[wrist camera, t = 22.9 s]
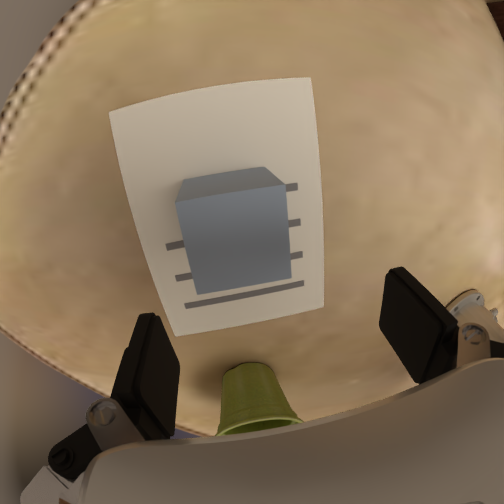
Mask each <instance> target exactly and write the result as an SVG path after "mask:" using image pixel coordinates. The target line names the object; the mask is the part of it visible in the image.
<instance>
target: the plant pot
mask: <svg viewBox="0 0 504 504" xmlns="http://www.w3.org/2000/svg"><path fill="white" fill-rule="evenodd" d="M303 422H304V421H302V420H301V419H299V418H298V416H297V415H296V413H295V412H294V411H292V409H291V407H290V405H289V403H288V401H287V399H286V397H285V395H284V393H283V391H282V389H281V387H280V385H279V383H278V381H277V379H276V377H275V374H274V372H273V371H272V370H271V369H270V368H269V367H268V366H266V365H264V364H261V363H244V364H240V365H239V366H238V367H236V368H234V369H232V370H228V371H227V372H226V373H225V375H224V376H223V379H222V397H221V417H220V424H219V426H218V432H217V434H216V435H215V436H223V435H232V434H240V433H248V432H255V431H261V430H267V429H273V428H278V427H283V426H289V425H293V424H298V423H303Z"/></svg>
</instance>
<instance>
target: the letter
mask: <svg viewBox="0 0 504 504" xmlns="http://www.w3.org/2000/svg"><path fill="white" fill-rule="evenodd" d="M109 117H110V122H111V128H112V133H113V138H114V143H115V148H116V152H117V157H118V161H119V166H120V170H121V174H122V178H123V182H124V186H125V190H126V194H127V198H128V201H129V205H130V209H131V212H132V216H133V219H134V223H135V226H136V229H137V233H138V236H139V239H140V242H141V245H142V249H143V252H144V255H145V258H146V261H147V264H148V267H149V269H150V272H151V275H152V278H153V281H154V284H155V286H156V289H157V292H158V295H159V297H160V300H161V302H162V305H163V308H164V310H165V313H166V315H167V318H168V320H169V323H170V325H171V328H172V330H173V332H174V335H175V337H176V336H183V335H190V334H196V333H202V332H208V331H214V330H219V329H225V328H230V327H236V326H241V325H246V324H251V323H256V322H261V321H266V320H270V319H275V318H280V317H284V316H289V315H293V314H297V313H302V312H306V311H310V310H314V309H318V308H322V307H324V232H323V206H322V187H321V172H320V158H319V146H318V135H317V125H316V116H315V107H314V99H313V91H312V83H311V77H308V78H283V79H268V80H257V81H248V82H239V83H231V84H224V85H218V86H212V87H206V88H200V89H195V90H190V91H185V92H180V93H176V94H171V95H167V96H163V97H159V98H155V99H151V100H147V101H143V102H140V103H136V104H133V105H130V106H126V107H123V108H120V109H117V110H114V111H111V112H109ZM258 167H265V168H267V169H268V170H269V171H270V172H271V173H273V174H274V175H275V176H276V177H277V178H278V179H280V180H281V181H282V182H283V183H284V184H285V185H286V197H287V210H288V224H289V239H290V256H291V274H292V278H290V279H285V280H279V281H274V282H269V283H263V284H258V285H252V286H247V287H241V288H235V289H230V290H224V291H218V292H212V293H206V294H200V295H197V293H196V289H195V285H194V281H193V278H192V274H191V270H190V266H189V262H188V258H187V254H186V250H185V246H184V241H183V237H182V233H181V228H180V224H179V220H178V215H177V210H176V206H175V201H176V198H177V195H178V193H179V190H180V188H181V185H182V182H183V180H184V179H189V178H195V177H200V176H206V175H212V174H218V173H224V172H230V171H237V170H243V169H250V168H258Z"/></svg>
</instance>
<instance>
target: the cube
mask: <svg viewBox="0 0 504 504" xmlns="http://www.w3.org/2000/svg"><path fill="white" fill-rule="evenodd" d="M175 206H176V210H177V215H178V220H179V224H180V228H181V233H182V237H183V241H184V246H185V250H186V254H187V258H188V262H189V266H190V270H191V274H192V278H193V281H194V285H195V289H196V293H197V295H200V294H206V293H212V292H218V291H224V290H230V289H235V288H241V287H247V286H252V285H258V284H263V283H269V282H274V281H279V280H285V279H290V278H292V274H291V256H290V239H289V224H288V210H287V197H286V185H285V184H284V183H283V182H282V181H281V180H280V179H278V178H277V177H276V176H275V175H274V174H273V173H271V172H270V171H269V170H268V169H267V168H265V167H258V168H250V169H243V170H237V171H230V172H224V173H218V174H212V175H206V176H200V177H195V178H189V179H184V180H183V182H182V185H181V188H180V190H179V193H178V195H177V198H176V201H175Z"/></svg>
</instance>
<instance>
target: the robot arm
mask: <svg viewBox="0 0 504 504" xmlns="http://www.w3.org/2000/svg"><path fill="white" fill-rule="evenodd" d="M497 314H498V310H497V308H493V309H491V310H490V311H489V310H487V309H486V308H485V307H484V298H483V295H482V294H481V293H480V292H478V291H477V290H470V291H467V292H465V293H463V294H462V295H460V296H459V297H457V298H456V299H455V300H454V301H453V302H452V303H451V304H450V305H449V306H448V307H447V308H445V307H444V306H443V305H442V304H441V303H440V302H439V301H438V300H437V299H436V298H435V297H434V296H433V295H432V294H431V293H430V292H429V291H428V290H427V289H426V288H425V287H424V286H423V285H422V284H421V283H420V282H419V281H418V280H417V279H416V278H415V277H414V276H412V275H411V274H410V273H409V272H408V271H407V270H406V269H405V268H404V267H397V268H393V269H390V270H389V272H388V273H387V274H386V277H385V285H384V293H383V300H382V307H381V313H380V319H379V327H380V330H381V331H382V333H383V334H384V336H385V337H386V339H387V340H388V342H389V343H390V345H391V346H392V348H393V349H394V351H395V352H396V354H397V355H398V357H399V358H400V360H401V361H402V363H403V365H404V366H405V368H406V369H407V371H408V372H409V374H410V376H411V377H412V379H413V380H414V382H415V383H419V385H417V386H415V387H413V388H410V389H408V390H405V391H403V392H400V393H398V394H395V395H393V396H390V397H387V398H385V399H382V400H379V401H376V402H373V403H370V404H367V405H364V406H361V407H358V408H355V409H352V410H348V411H345V412H342V413H338V414H335V415H331V416H327V417H323V418H319V419H315V420H311V421H307V422H303V423H298V424H293V425H289V426H283V427H278V428H273V429H267V430H261V431H255V432H248V433H240V434H232V435H223V436H212V437H201V438H186V439H170V436H173V435H174V431H175V418H176V406H177V395H178V384H179V375H180V364H179V361H178V358H177V356H176V354H175V352H174V349H173V347H172V345H171V342H170V340H169V338H168V335H167V333H166V331H165V328H164V326H163V323H162V321H161V318H160V317H159V316H156V315H155V314H154V313H145V314H140V315H139V317H138V319H137V322H136V325H135V328H134V331H133V334H132V337H131V340H130V343H129V346H128V347H127V348H126V349H125V351H124V354H123V357H122V360H121V363H120V366H119V369H118V373H117V376H116V379H115V383H114V386H113V390H112V393H111V397H110V398H101V399H98V400H96V401H95V402H93V403H92V404H91V405H90V406H89V408H88V410H87V412H86V422H87V424H85V425H84V426H83V427H81V428H79V429H78V430H77V431H75V432H74V433H72V434H71V435H69V436H68V437H66V438H65V439H64V440H62V441H60V442H59V443H58V444H56V445H55V446H54V447H53V448H52V449H51V451H50V453H49V456H48V462H49V466H48V467H46V466H43V468H42V469H41V470H40V471H39V472H38V474H37V475H36V476H35V477H34V478H33V480H32V481H31V482H30V483H29V485H28V486H27V487H26V488H25V490H24V491H23V492H22V494H21V498H20V501H21V504H504V329H503V328H502V327H501V326H500V325H499V324H498V323H497V322H498V321H497V318H496V315H497Z"/></svg>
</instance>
